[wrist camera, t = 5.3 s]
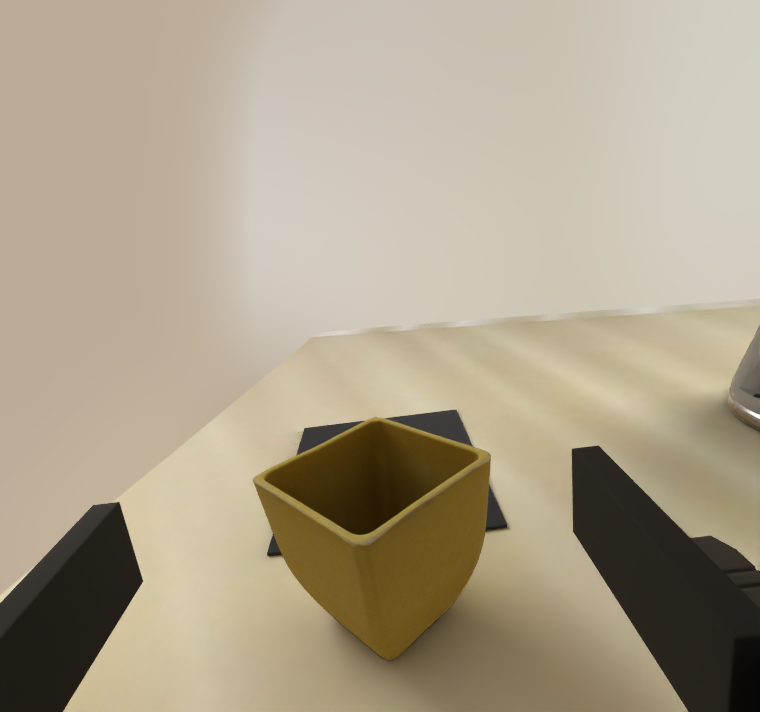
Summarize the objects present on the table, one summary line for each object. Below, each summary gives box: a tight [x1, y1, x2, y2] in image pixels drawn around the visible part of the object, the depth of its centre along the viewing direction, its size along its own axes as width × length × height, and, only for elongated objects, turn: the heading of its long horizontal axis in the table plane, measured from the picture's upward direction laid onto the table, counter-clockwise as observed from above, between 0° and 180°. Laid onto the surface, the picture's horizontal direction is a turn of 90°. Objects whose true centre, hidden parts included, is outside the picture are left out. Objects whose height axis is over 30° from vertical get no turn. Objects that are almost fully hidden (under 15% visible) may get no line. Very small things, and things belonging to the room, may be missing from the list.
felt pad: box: [267, 410, 507, 556], centre depth 43 cm, size 20×16×1 cm
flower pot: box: [253, 417, 491, 660], centre depth 26 cm, size 9×9×9 cm
